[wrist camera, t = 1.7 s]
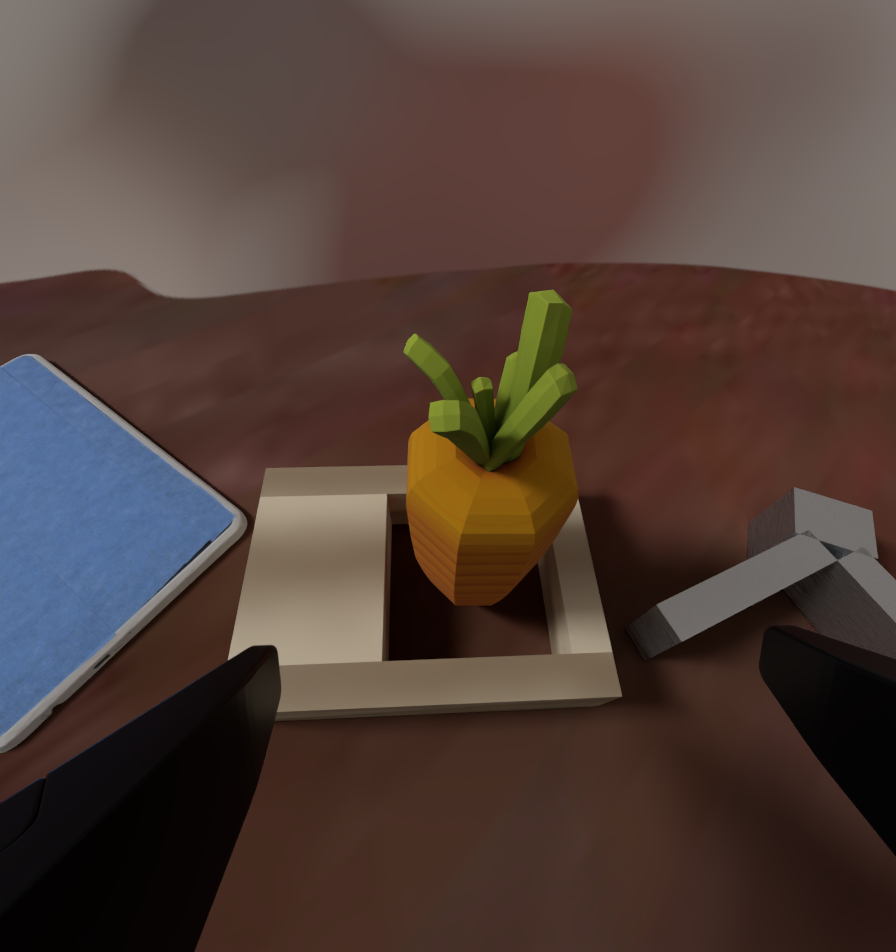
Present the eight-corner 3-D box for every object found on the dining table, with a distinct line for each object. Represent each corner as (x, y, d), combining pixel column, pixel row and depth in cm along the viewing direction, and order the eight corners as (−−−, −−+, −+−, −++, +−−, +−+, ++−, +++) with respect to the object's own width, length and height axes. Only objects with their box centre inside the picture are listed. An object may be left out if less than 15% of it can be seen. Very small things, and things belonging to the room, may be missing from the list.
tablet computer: (259, 527, 23) (250, 515, 22) (7, 766, 18) (-22, 767, 17) (45, 361, 29) (30, 345, 28) (-198, 502, 23) (-229, 489, 22)
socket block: (596, 706, 19) (622, 696, 16) (246, 722, 18) (217, 714, 16) (555, 494, 24) (570, 462, 22) (283, 500, 24) (265, 468, 21)
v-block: (968, 784, 18) (1074, 787, 15) (620, 651, 20) (652, 631, 17) (929, 580, 22) (1005, 551, 19) (648, 490, 25) (677, 451, 22)
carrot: (437, 666, 20) (448, 476, 7) (397, 563, 22) (350, 282, 9) (540, 619, 21) (710, 384, 8) (491, 527, 23) (563, 233, 10)
